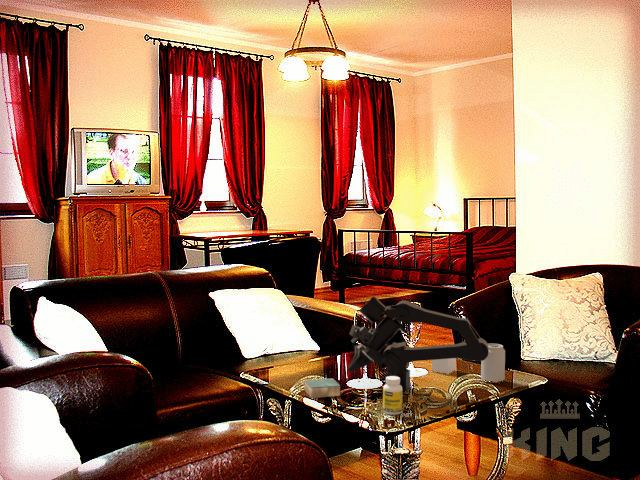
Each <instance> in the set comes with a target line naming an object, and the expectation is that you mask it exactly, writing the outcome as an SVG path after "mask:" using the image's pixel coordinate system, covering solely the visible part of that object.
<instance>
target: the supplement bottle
mask: <svg viewBox="0 0 640 480" xmlns="http://www.w3.org/2000/svg"><path fill="white" fill-rule="evenodd" d="M386 383H387V384H386ZM399 384H400V378H399V377H397V376H388V377H386V376H385V384H384V385H383V388H382V412H383V413H384V414H386V415H393V416H394V415H400V414H401V413H402V412H403V393H402V386H401V385H399Z"/></svg>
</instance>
